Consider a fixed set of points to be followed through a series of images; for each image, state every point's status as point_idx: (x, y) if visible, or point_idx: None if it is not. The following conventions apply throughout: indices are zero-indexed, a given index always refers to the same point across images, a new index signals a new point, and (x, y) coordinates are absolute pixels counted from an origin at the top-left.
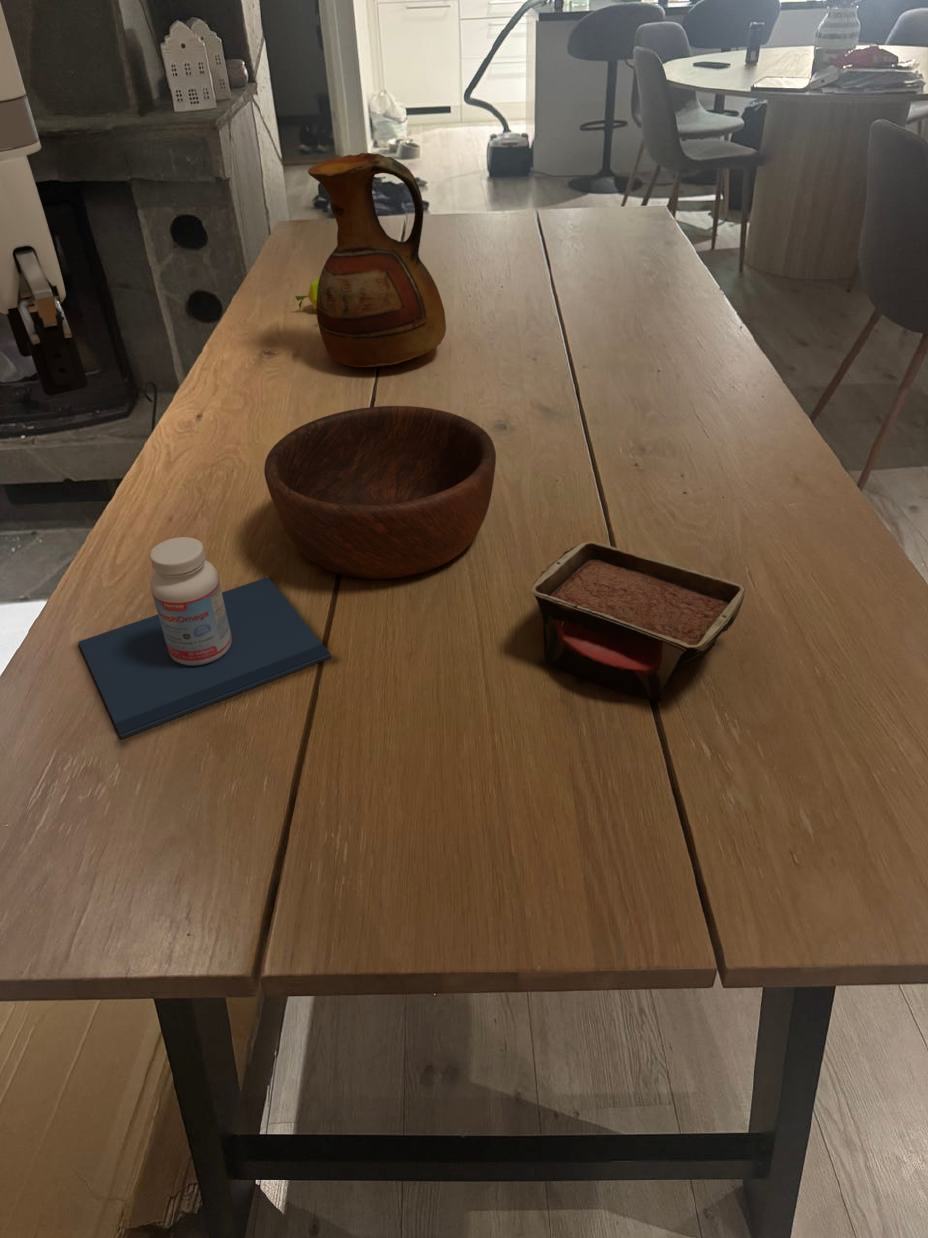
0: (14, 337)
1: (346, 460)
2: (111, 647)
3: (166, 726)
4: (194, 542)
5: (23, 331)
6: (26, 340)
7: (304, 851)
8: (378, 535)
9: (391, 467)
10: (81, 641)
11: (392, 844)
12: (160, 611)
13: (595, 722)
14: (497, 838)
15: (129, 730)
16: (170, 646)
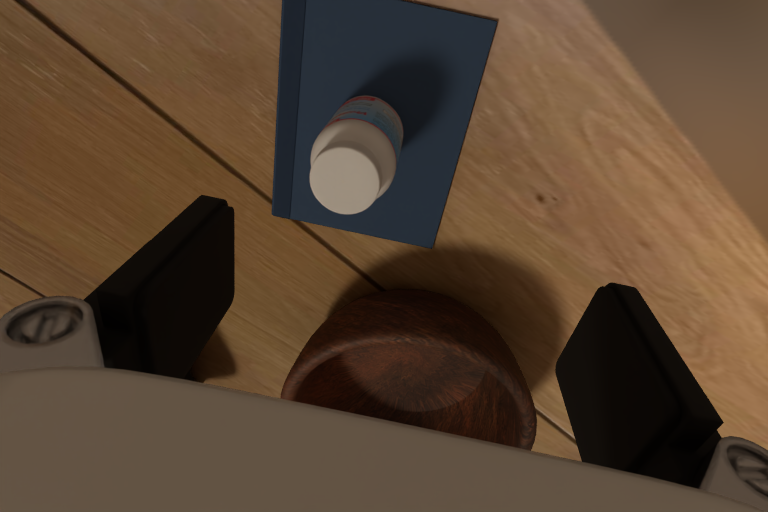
0: (649, 322)
1: (500, 409)
2: (450, 50)
3: (276, 30)
4: (346, 208)
5: (617, 360)
6: (608, 335)
7: (45, 42)
8: (309, 343)
9: (469, 421)
10: (493, 25)
11: (27, 106)
12: (350, 113)
13: (91, 290)
14: (6, 168)
15: None
16: (359, 100)
